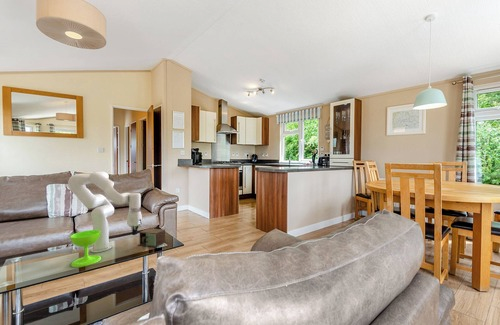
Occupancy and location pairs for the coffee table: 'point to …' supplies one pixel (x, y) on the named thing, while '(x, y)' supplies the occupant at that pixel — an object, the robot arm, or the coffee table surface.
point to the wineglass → (85, 247)
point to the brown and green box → (159, 233)
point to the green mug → (149, 239)
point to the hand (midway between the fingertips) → (134, 234)
